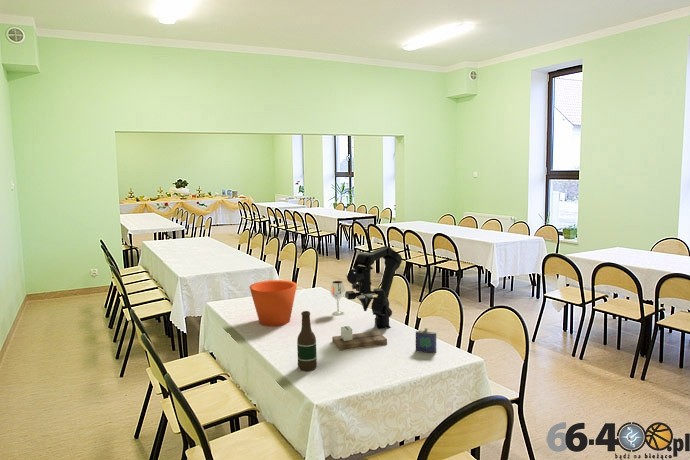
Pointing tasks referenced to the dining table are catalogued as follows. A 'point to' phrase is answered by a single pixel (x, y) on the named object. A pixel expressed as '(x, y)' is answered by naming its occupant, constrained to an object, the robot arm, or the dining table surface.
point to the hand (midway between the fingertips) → (365, 310)
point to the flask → (426, 341)
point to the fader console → (360, 340)
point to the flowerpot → (273, 301)
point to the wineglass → (337, 294)
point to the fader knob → (346, 333)
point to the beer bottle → (306, 345)
